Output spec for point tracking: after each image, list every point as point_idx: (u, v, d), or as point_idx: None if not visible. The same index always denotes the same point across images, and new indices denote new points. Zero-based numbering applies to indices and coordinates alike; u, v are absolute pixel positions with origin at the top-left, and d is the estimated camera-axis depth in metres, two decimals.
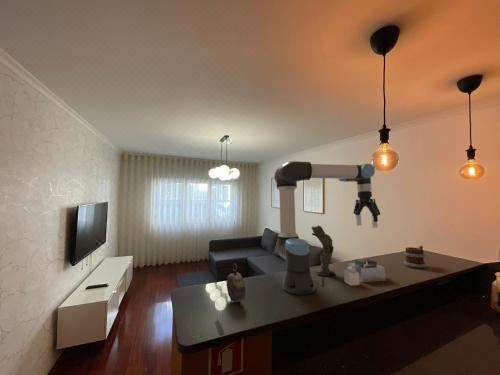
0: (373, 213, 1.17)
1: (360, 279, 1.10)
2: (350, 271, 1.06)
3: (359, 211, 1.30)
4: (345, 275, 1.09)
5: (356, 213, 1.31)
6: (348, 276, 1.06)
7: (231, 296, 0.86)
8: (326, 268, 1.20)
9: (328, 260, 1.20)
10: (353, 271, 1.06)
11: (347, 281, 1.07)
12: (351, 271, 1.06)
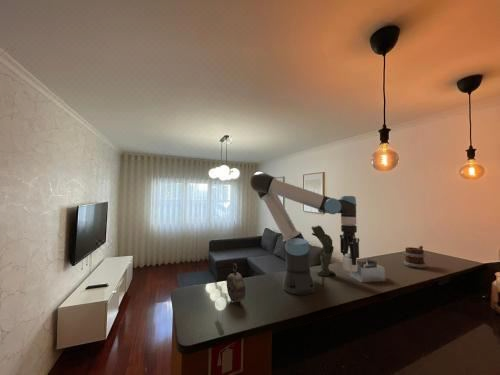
0: (352, 256, 1.05)
1: (360, 279, 1.10)
2: (348, 258, 1.07)
3: (346, 249, 1.11)
4: (343, 262, 1.10)
5: (343, 252, 1.12)
6: (346, 262, 1.07)
7: (231, 296, 0.86)
8: (326, 268, 1.20)
9: (328, 260, 1.20)
10: None
11: (345, 267, 1.08)
12: (349, 258, 1.07)
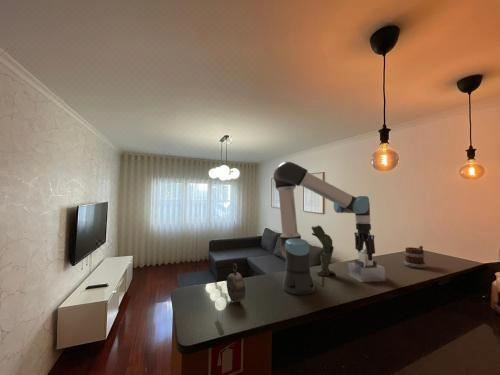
0: (368, 252, 1.12)
1: (360, 279, 1.10)
2: (364, 253, 1.15)
3: (361, 246, 1.19)
4: (359, 257, 1.17)
5: (358, 249, 1.20)
6: (362, 258, 1.15)
7: (231, 296, 0.86)
8: (326, 268, 1.20)
9: (328, 260, 1.20)
10: None
11: None
12: (365, 253, 1.14)
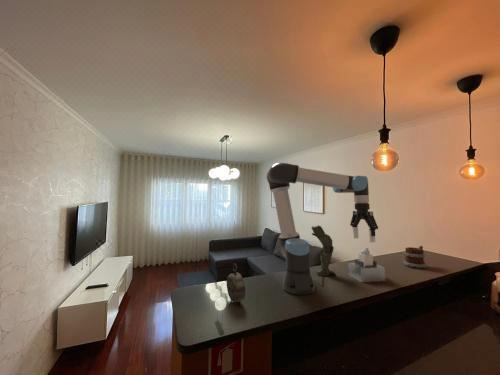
0: (370, 227, 1.10)
1: (360, 279, 1.10)
2: (364, 253, 1.15)
3: (356, 223, 1.23)
4: (359, 257, 1.17)
5: (353, 225, 1.25)
6: (362, 258, 1.15)
7: (231, 296, 0.86)
8: (326, 268, 1.20)
9: (328, 260, 1.20)
10: (367, 253, 1.14)
11: None
12: (365, 253, 1.14)
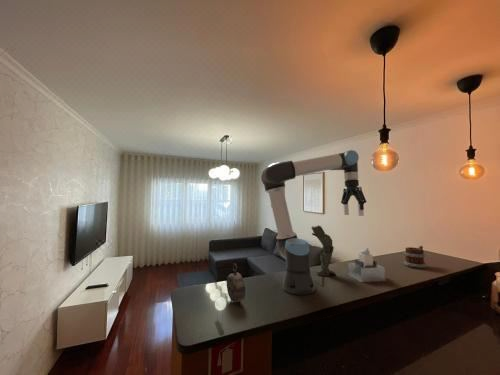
0: (359, 201, 1.15)
1: (360, 279, 1.10)
2: (364, 253, 1.15)
3: (346, 200, 1.28)
4: (359, 257, 1.17)
5: (343, 202, 1.29)
6: (362, 258, 1.15)
7: (231, 296, 0.86)
8: (326, 268, 1.20)
9: (328, 260, 1.20)
10: (367, 253, 1.14)
11: None
12: (365, 253, 1.14)
